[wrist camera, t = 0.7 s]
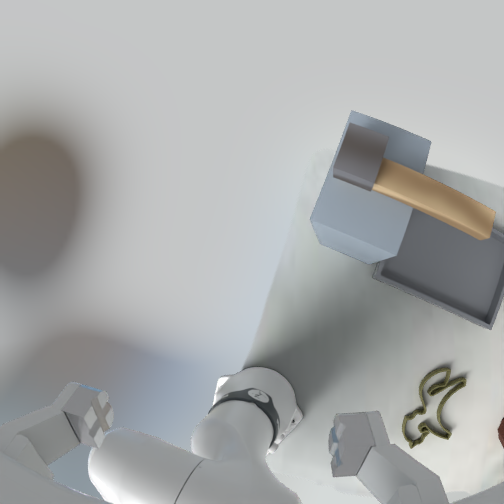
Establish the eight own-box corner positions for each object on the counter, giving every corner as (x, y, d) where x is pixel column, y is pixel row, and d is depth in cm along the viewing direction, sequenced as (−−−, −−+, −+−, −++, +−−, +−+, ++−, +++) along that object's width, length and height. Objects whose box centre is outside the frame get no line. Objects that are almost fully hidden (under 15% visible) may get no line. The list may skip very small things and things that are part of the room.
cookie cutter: (444, 442, 47) (447, 446, 45) (395, 444, 50) (397, 448, 48) (466, 367, 48) (470, 369, 46) (415, 366, 51) (418, 369, 49)
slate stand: (368, 264, 55) (396, 255, 30) (320, 243, 58) (309, 219, 32) (393, 196, 54) (431, 141, 29) (346, 176, 57) (351, 110, 32)
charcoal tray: (483, 327, 47) (491, 330, 44) (372, 277, 55) (374, 277, 51) (510, 244, 47) (518, 242, 44) (403, 190, 54) (407, 184, 51)
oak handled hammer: (477, 248, 27) (500, 244, 22) (333, 184, 32) (333, 167, 27) (488, 208, 27) (510, 197, 22) (348, 144, 32) (349, 122, 27)
